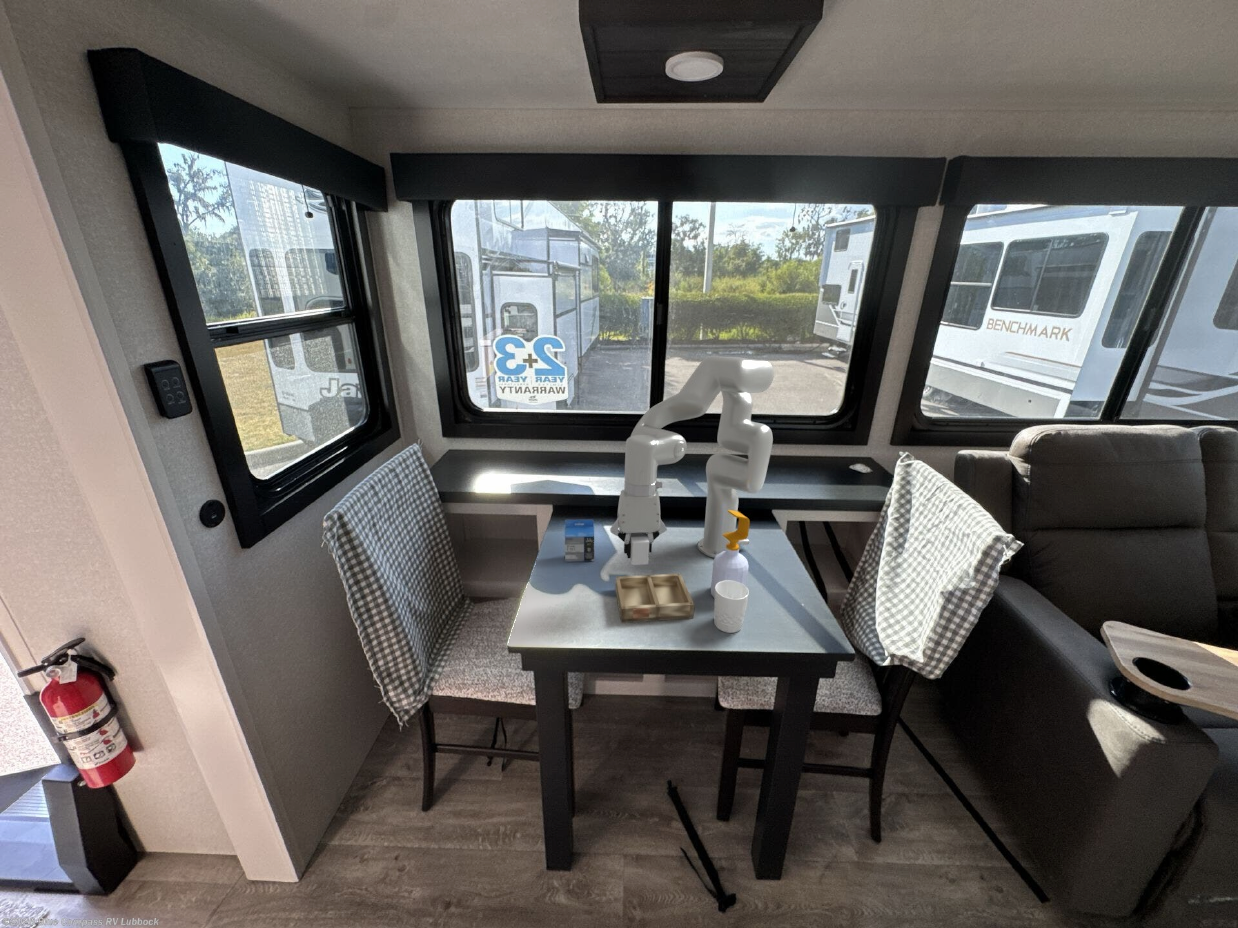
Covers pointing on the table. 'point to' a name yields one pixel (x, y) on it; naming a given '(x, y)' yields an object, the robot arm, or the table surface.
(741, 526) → the spray bottle
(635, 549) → the grey banded white block
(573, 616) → the table surface
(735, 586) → the white cup
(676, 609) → the wooden compartment tray
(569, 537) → the label tape box
